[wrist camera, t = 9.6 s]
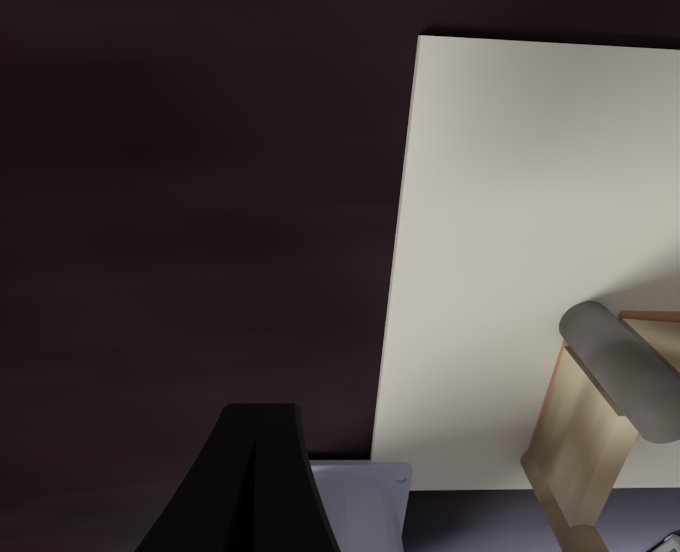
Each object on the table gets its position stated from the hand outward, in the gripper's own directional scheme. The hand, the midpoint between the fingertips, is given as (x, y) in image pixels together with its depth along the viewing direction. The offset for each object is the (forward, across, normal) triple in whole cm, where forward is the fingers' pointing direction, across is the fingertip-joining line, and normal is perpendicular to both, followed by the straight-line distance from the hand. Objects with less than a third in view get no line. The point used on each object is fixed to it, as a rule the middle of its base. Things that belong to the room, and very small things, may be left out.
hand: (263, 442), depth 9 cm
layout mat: (+9, -14, +3) cm, 17 cm away
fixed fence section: (+9, -12, +7) cm, 16 cm away
